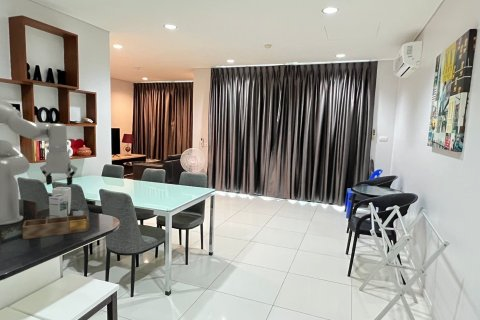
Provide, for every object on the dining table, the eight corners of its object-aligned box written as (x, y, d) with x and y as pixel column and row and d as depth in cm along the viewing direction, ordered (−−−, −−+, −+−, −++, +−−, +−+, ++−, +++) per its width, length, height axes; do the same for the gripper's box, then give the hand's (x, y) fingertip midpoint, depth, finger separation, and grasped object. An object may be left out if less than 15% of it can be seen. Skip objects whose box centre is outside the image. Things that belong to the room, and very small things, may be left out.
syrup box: (59, 226, 144) (59, 197, 142) (49, 225, 145) (48, 196, 143) (68, 223, 149) (68, 194, 147) (58, 221, 150) (58, 193, 149)
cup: (72, 213, 163) (72, 187, 162) (65, 217, 156) (64, 190, 154) (59, 213, 163) (58, 186, 161) (51, 217, 156) (50, 189, 154)
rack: (22, 239, 127) (22, 226, 126) (24, 232, 134) (24, 220, 134) (88, 231, 140) (88, 219, 139) (87, 225, 147) (87, 214, 147)
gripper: (34, 149, 139) (36, 185, 141) (72, 150, 139) (73, 186, 141) (44, 148, 146) (46, 182, 148) (80, 149, 146) (81, 183, 148)
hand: (59, 184), depth 145 cm, fingers open, 9 cm apart
